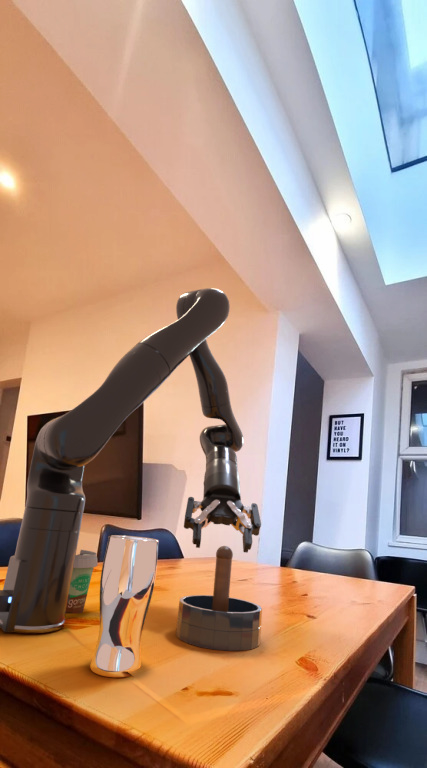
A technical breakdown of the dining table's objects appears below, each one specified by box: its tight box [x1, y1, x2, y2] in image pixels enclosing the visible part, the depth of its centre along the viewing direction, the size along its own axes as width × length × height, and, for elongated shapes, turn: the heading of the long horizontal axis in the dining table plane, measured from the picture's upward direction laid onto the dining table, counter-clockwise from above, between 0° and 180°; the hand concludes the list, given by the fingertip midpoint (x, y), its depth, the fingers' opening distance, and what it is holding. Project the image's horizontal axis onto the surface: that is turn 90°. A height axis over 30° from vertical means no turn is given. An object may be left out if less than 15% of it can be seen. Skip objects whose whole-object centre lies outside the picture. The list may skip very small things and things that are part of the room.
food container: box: [65, 549, 99, 615], centre depth 76 cm, size 12×6×10 cm, turn 167°
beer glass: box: [89, 534, 160, 678], centre depth 54 cm, size 7×7×15 cm
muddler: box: [212, 545, 234, 612], centre depth 69 cm, size 4×4×14 cm
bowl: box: [175, 594, 263, 652], centre depth 67 cm, size 13×13×6 cm
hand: (222, 547), depth 74 cm, fingers open, 8 cm apart
